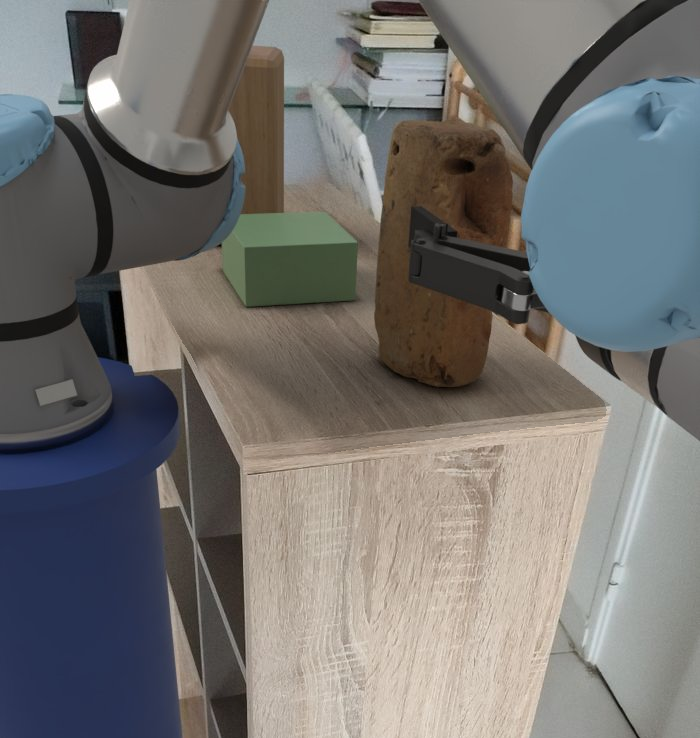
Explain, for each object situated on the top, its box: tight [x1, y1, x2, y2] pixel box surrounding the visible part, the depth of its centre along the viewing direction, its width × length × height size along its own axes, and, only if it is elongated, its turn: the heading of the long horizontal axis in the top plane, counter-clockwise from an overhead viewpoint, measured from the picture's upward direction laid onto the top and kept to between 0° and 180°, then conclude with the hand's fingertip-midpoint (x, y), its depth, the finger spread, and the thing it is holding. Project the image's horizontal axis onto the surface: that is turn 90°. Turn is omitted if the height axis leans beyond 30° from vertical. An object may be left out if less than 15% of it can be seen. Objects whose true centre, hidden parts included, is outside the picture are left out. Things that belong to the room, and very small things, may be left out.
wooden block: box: [218, 45, 285, 246], centre depth 106 cm, size 10×10×20 cm
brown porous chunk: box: [373, 119, 514, 388], centre depth 76 cm, size 11×8×20 cm
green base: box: [221, 211, 359, 308], centre depth 97 cm, size 12×12×6 cm
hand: (500, 222), depth 66 cm, fingers open, 13 cm apart
